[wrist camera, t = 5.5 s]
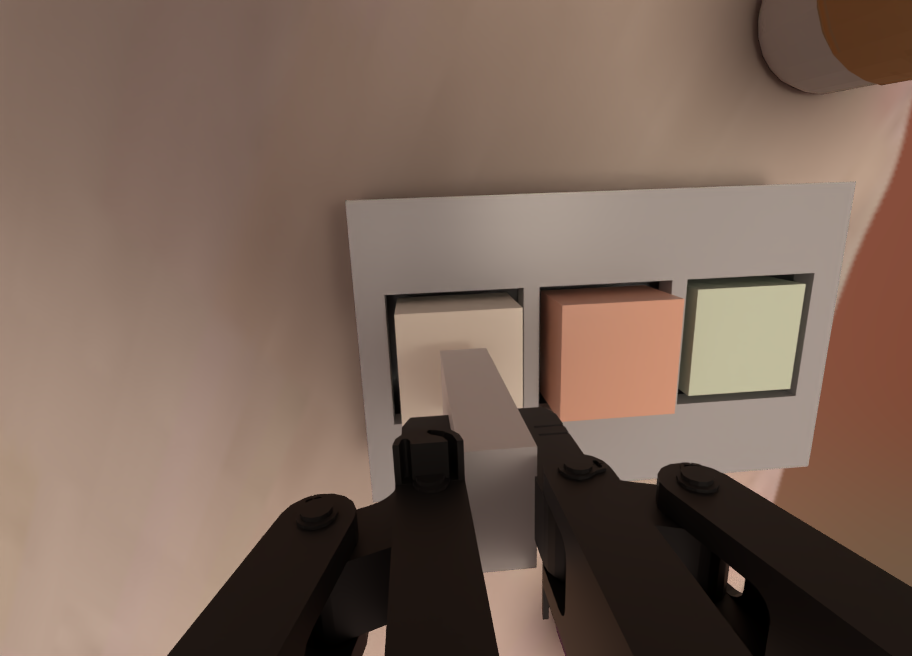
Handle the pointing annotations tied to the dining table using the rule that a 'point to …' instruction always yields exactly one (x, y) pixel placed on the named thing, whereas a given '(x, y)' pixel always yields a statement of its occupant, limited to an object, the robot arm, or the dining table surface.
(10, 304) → the dining table surface
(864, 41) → the coffee cup
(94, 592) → the dining table surface
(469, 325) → the key cream
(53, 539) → the dining table surface
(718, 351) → the key sage
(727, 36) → the dining table surface
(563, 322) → the key terracotta
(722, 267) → the keypad
